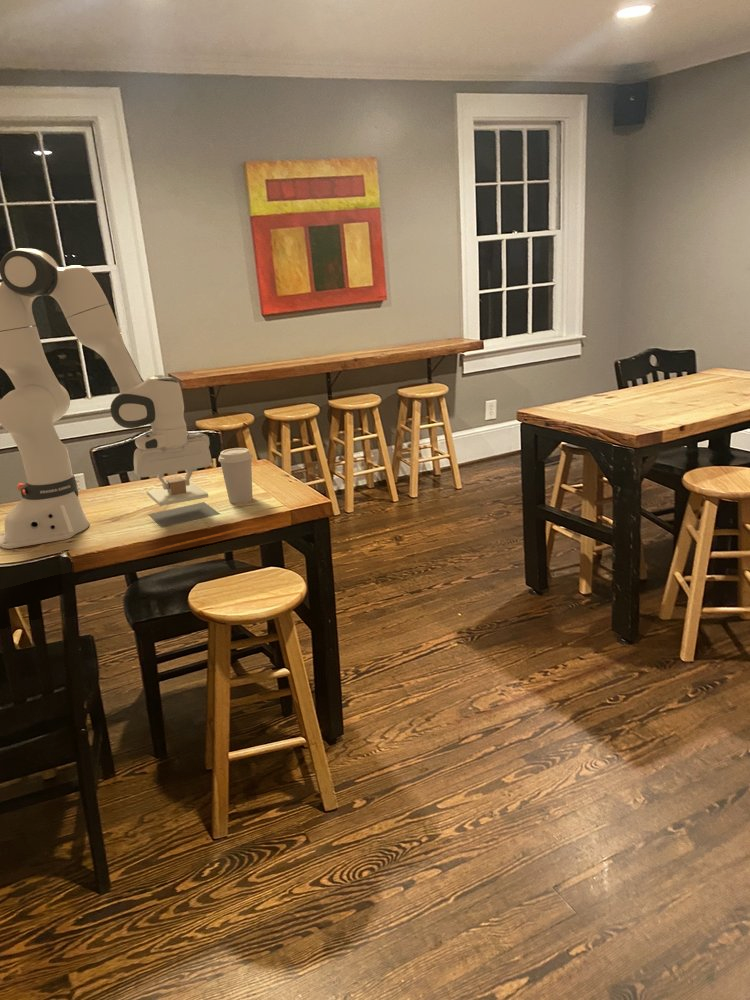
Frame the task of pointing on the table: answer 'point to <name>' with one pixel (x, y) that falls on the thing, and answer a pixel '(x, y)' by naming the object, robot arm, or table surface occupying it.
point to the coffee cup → (237, 474)
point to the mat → (183, 514)
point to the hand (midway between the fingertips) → (176, 487)
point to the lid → (177, 492)
